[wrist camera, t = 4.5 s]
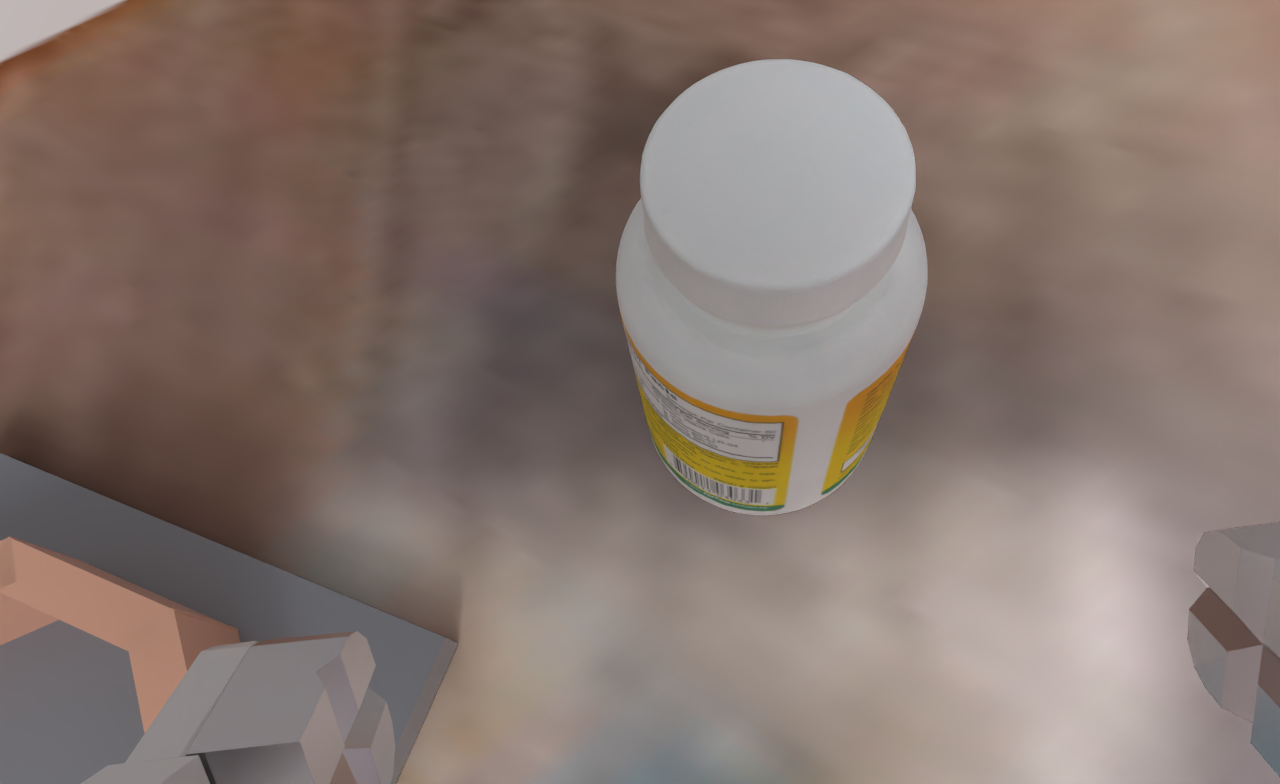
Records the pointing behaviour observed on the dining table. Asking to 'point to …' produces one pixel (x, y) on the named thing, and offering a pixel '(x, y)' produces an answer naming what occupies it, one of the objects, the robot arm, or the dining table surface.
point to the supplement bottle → (771, 281)
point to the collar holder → (150, 627)
